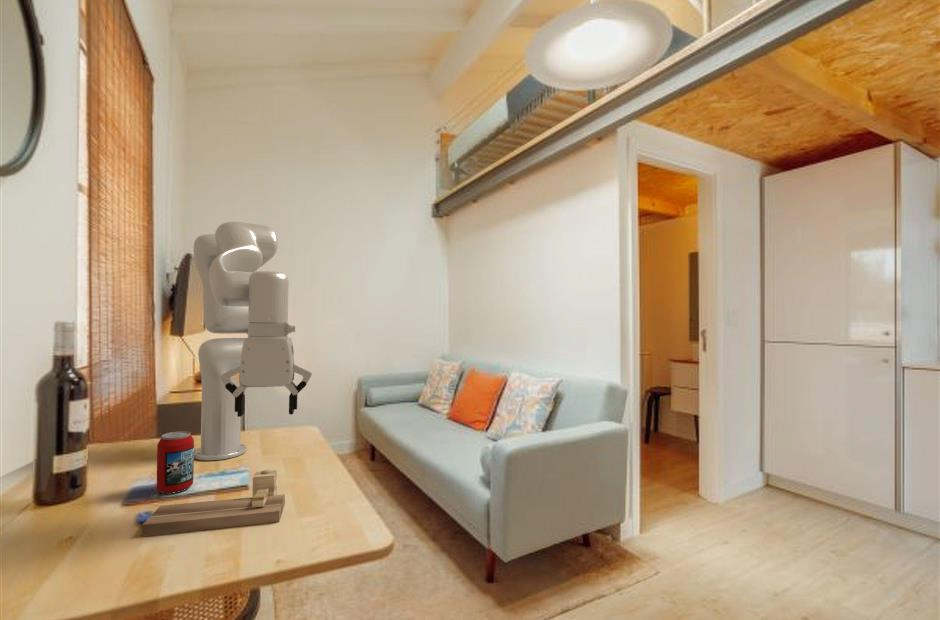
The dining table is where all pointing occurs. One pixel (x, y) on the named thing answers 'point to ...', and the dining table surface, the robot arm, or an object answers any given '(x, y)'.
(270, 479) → the block
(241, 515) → the board
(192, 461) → the beverage can
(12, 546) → the dining table surface
